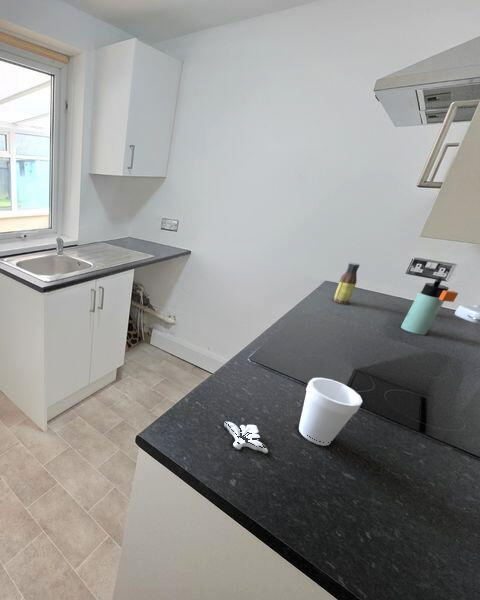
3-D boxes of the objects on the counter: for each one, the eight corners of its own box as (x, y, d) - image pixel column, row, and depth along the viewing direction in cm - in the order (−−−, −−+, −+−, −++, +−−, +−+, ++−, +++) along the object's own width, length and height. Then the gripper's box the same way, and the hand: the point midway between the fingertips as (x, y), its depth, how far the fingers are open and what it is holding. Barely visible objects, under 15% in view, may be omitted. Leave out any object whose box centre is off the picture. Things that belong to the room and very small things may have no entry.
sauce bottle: (351, 304, 154) (367, 266, 146) (340, 304, 153) (356, 265, 145) (339, 299, 160) (354, 262, 152) (328, 299, 159) (343, 262, 151)
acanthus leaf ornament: (223, 425, 75) (225, 419, 74) (252, 427, 75) (254, 421, 74) (235, 450, 68) (238, 444, 67) (267, 453, 68) (270, 447, 67)
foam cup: (287, 434, 73) (306, 390, 68) (294, 414, 80) (312, 372, 75) (337, 458, 68) (361, 412, 63) (340, 434, 74) (363, 391, 69)
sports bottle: (431, 336, 126) (462, 282, 117) (409, 333, 127) (438, 279, 118) (416, 327, 133) (444, 275, 124) (396, 324, 134) (422, 273, 125)
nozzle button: (453, 302, 117) (458, 293, 116) (442, 300, 118) (447, 291, 116) (449, 300, 119) (454, 291, 117) (438, 298, 119) (443, 290, 118)
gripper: (473, 329, 97) (437, 312, 110) (555, 339, 94) (508, 320, 106) (484, 311, 95) (446, 295, 108) (568, 320, 91) (519, 303, 104)
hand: (477, 307), depth 107 cm, fingers closed
